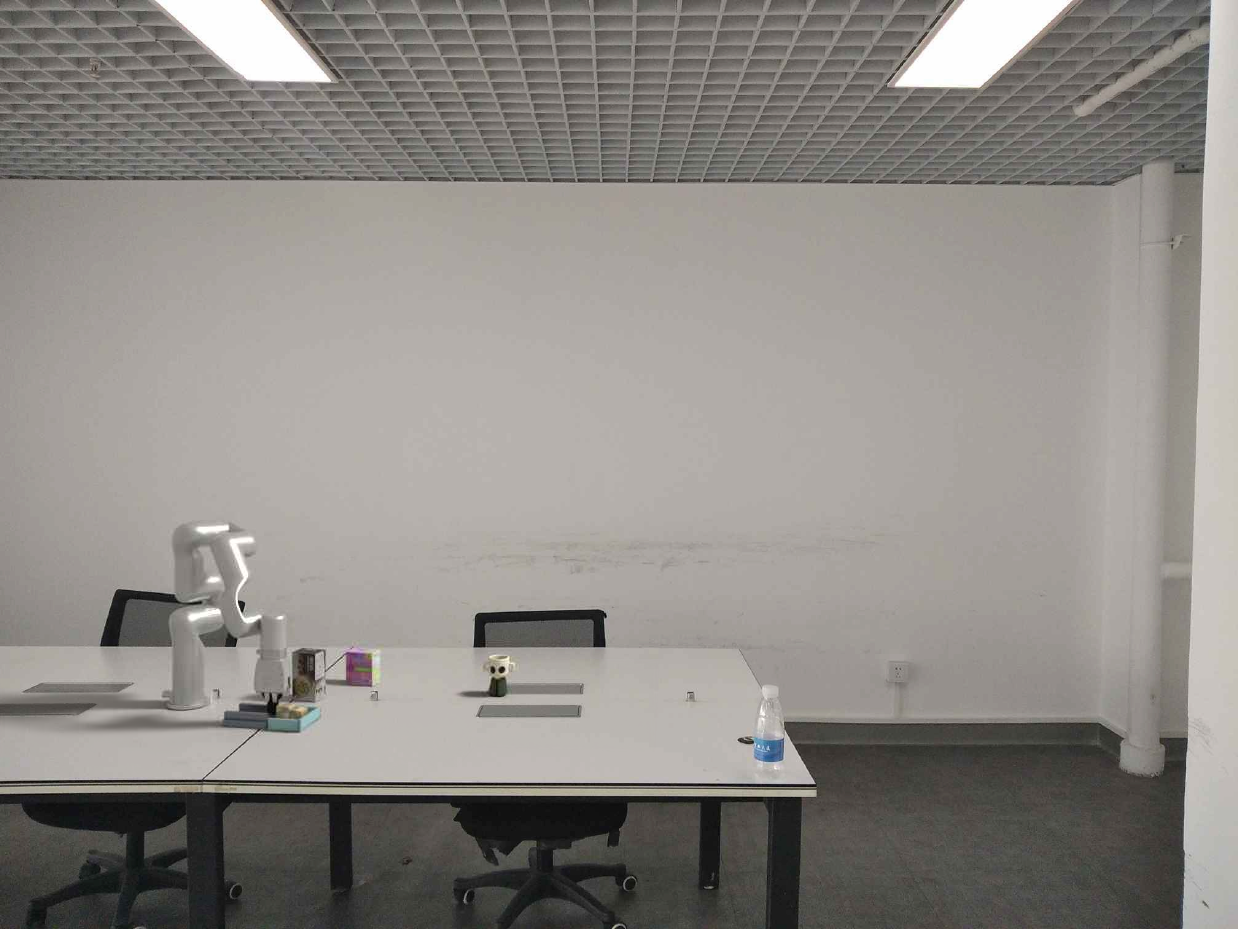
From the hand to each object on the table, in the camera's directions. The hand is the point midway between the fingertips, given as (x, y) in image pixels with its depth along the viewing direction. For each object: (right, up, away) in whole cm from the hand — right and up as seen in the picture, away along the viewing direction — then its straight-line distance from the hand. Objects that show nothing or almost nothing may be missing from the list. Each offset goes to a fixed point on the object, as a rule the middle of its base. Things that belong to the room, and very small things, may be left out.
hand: (272, 713), depth 286 cm
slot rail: (-6, -3, +1) cm, 6 cm away
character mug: (+64, -3, +35) cm, 73 cm away
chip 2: (+6, 0, -1) cm, 6 cm away
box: (+15, -2, +46) cm, 48 cm away
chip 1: (+4, -1, 0) cm, 4 cm away
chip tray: (+7, -3, -1) cm, 8 cm away
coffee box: (+2, -2, +26) cm, 26 cm away
